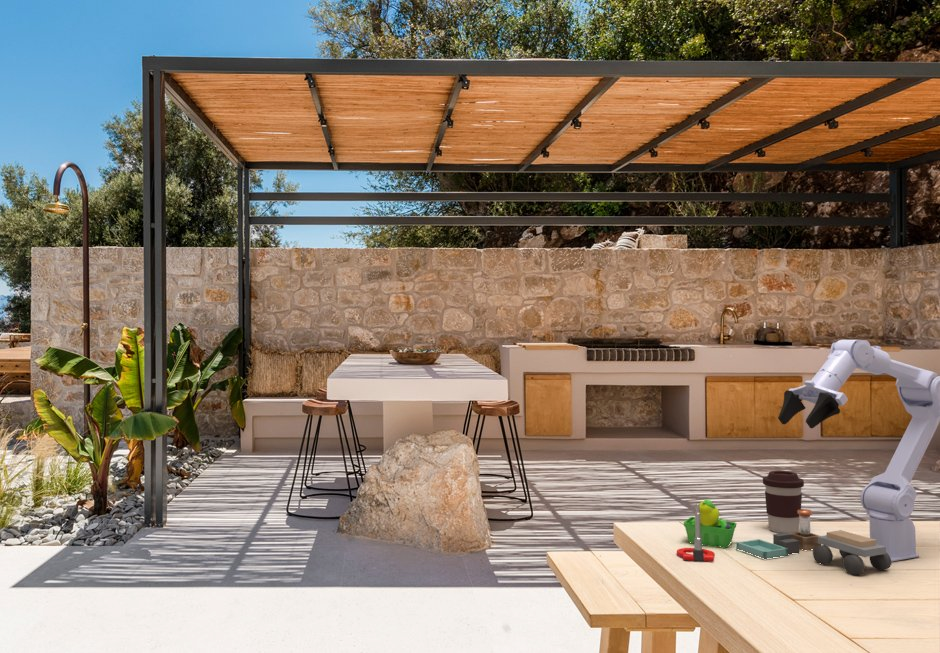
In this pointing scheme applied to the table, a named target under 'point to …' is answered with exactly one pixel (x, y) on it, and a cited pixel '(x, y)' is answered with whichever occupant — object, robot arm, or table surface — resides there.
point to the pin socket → (806, 541)
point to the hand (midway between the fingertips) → (794, 423)
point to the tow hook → (697, 544)
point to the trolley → (851, 551)
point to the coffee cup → (783, 500)
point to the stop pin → (804, 522)
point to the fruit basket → (711, 526)
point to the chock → (786, 542)
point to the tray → (762, 548)
